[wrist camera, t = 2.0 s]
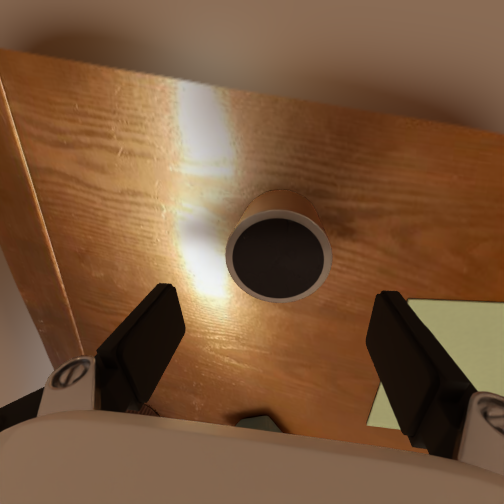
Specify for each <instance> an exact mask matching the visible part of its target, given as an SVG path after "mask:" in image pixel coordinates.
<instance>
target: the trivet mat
mask: <svg viewBox="0 0 504 504" xmlns="http://www.w3.org/2000/svg"><path fill="white" fill-rule="evenodd" d="M407 303H408V304H409V306H410V307H411V308H412V309H413V311H414V312H415V313H416V315H417V316H418V317H419V318H420V320H421V321H422V322H423V323H424V325H425V326H426V327H427V328H428V329H429V330H430V331H431V332H432V334H433V335H434V336H435V337H436V339H437V340H438V341H439V342H440V344H441V345H442V346H443V347H444V349H445V350H446V351H447V353H448V354H449V355H450V356H451V358H452V359H453V360H454V361H455V363H456V364H457V365H458V366H459V368H460V369H461V370H462V372H463V373H464V374H465V375H466V377H467V378H468V379H469V380H470V382H471V383H472V384H473V386H474V387H475V388H476V389H477V391H487V392H491V393H495V394H498V395H501V396H503V397H504V302H483V301H459V300H435V299H410V298H408V301H407ZM367 425H369V426H377V427H384V428H392V429H400V427H399V425H398V422H397V420H396V417H395V415H394V413H393V410H392V408H391V405H390V403H389V400H388V398H387V395H386V393H385V390H384V388H383V386H382V383H381V382H380V385H379V388H378V391H377V394H376V397H375V400H374V403H373V406H372V409H371V412H370V415H369V418H368V421H367ZM400 430H401V429H400Z"/></svg>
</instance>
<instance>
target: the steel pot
mask: <svg viewBox="0 0 504 504" xmlns="http://www.w3.org/2000/svg"><path fill="white" fill-rule="evenodd" d="M225 257H226V264H227V268H228V271H229V273H230V275H231V277H232V278H233V280H234V281H235V283H236V284H237V285H238V286H239V287H240V288H241V289H242V290H244V291H245V292H246V293H248V294H249V295H251V296H253V297H255V298H257V299H260V300H263V301H267V302H274V303H287V302H293V301H297V300H300V299H303V298H305V297H307V296H309V295H310V294H312V293H313V292H315V291H316V290H317V289H318V288H319V287H320V286H321V285H322V284H323V283H324V281H325V280H326V278H327V276H328V274H329V272H330V269H331V265H332V249H331V245H330V242H329V240H328V237H327V235H326V233H325V230H324V228H323V226H322V223H321V221H320V219H319V216H318V214H317V212H316V210H315V208H314V206H313V205H312V204H311V203H310V201H308V200H307V199H306V198H305V197H303V196H302V195H300V194H298V193H296V192H293V191H289V190H273V191H269V192H266V193H264V194H262V195H260V196H258V197H257V198H255V199H254V200H253V201H252V202H251V203H250V204H249V206H248V207H247V209H246V210H245V212H244V214H243V215H242V217H241V219H240V220H239V222H238V223H237V225H236V227H235V228H234V230H233V232H232V233H231V235H230V237H229V239H228V242H227V246H226V253H225Z"/></svg>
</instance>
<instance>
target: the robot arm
mask: <svg viewBox="0 0 504 504" xmlns="http://www.w3.org/2000/svg"><path fill="white" fill-rule="evenodd" d="M184 334H185V323H184V319H183V315H182V311H181V308H180V304H179V300H178V296H177V292H176V288H175V287H173V286H172V284H167V283H159V284H157V285H156V287H155V288H154V289H153V290H152V291H151V292H150V293H149V294H148V295H147V296H146V297H145V298H144V299H143V301H142V302H141V303H140V304H139V305H138V306H137V307H136V308H135V309H134V310H133V311H132V312H131V313H130V314H129V316H128V317H127V318H126V319H125V320H124V321H123V322H122V323H121V324H120V325H119V326H118V327H117V328H116V330H115V331H114V332H113V333H112V334H111V335H110V336H109V337H108V338H107V339H106V340H105V341H104V342H103V344H102V345H101V346H100V347H99V348H98V349H97V350H96V351H97V353H98V354H97V355H96V356H95V357H93V356H91V355H81V356H78V357H75V358H72V359H70V360H68V361H66V362H65V363H63V364H62V365H60V366H59V367H58V368H57V369H56V370H54V371H53V372H52V374H51V375H50V376H49V377H48V380H47V382H46V384H45V387H43V388H41V389H39V390H37V391H35V392H33V393H30V394H28V395H26V396H24V397H22V398H20V399H18V400H16V401H14V402H12V403H10V404H8V405H6V406H4V407H2V408H0V504H504V397H503V396H501V395H498V394H495V393H491V392H487V391H477V389H476V388H475V387H474V386H473V384H472V383H471V382H470V380H469V379H468V378H467V377H466V375H465V374H464V373H463V372H462V370H461V369H460V368H459V366H458V365H457V364H456V363H455V361H454V360H453V359H452V358H451V356H450V355H449V354H448V353H447V351H446V350H445V349H444V347H443V346H442V345H441V344H440V342H439V341H438V340H437V339H436V337H435V336H434V335H433V334H432V332H431V331H430V330H429V329H428V328H427V327H426V326H425V325H424V323H423V322H422V321H421V320H420V318H419V317H418V316H417V315H416V313H415V312H414V311H413V309H412V308H411V307H410V306H409V304H408V303H407V302H406V300H405V299H404V298H403V297H402V295H401V294H400V293H399V292H398V291H381V293H380V294H377V295H376V298H375V302H374V306H373V311H372V315H371V319H370V323H369V327H368V332H367V336H366V346H367V349H368V351H369V354H370V356H371V359H372V361H373V363H374V366H375V368H376V371H377V373H378V376H379V378H380V381H381V383H382V386H383V388H384V390H385V393H386V395H387V398H388V400H389V403H390V405H391V408H392V410H393V413H394V415H395V417H396V420H397V422H398V425H399V427H400V429H401V431H402V433H403V434H404V435H407V436H408V438H409V440H410V443H411V445H412V447H416V448H424V449H427V450H428V452H429V454H430V455H428V454H423V453H416V452H410V451H404V450H397V449H391V448H385V447H378V446H372V445H365V444H358V443H351V442H343V441H336V440H329V439H322V438H315V437H307V436H300V435H293V434H286V433H278V432H271V431H263V430H256V429H248V428H241V427H233V426H225V425H218V424H210V423H203V422H195V421H187V420H179V419H171V418H163V417H155V416H147V415H139V414H130V413H125V411H126V410H133V411H140V410H141V408H142V406H143V404H144V403H146V402H147V401H148V400H149V399H150V397H151V395H152V393H153V392H154V390H155V388H156V386H157V384H158V382H159V380H160V379H161V377H162V375H163V373H164V371H165V369H166V367H167V366H168V364H169V362H170V360H171V358H172V356H173V354H174V353H175V351H176V349H177V347H178V345H179V343H180V341H181V340H182V338H183V336H184Z"/></svg>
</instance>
